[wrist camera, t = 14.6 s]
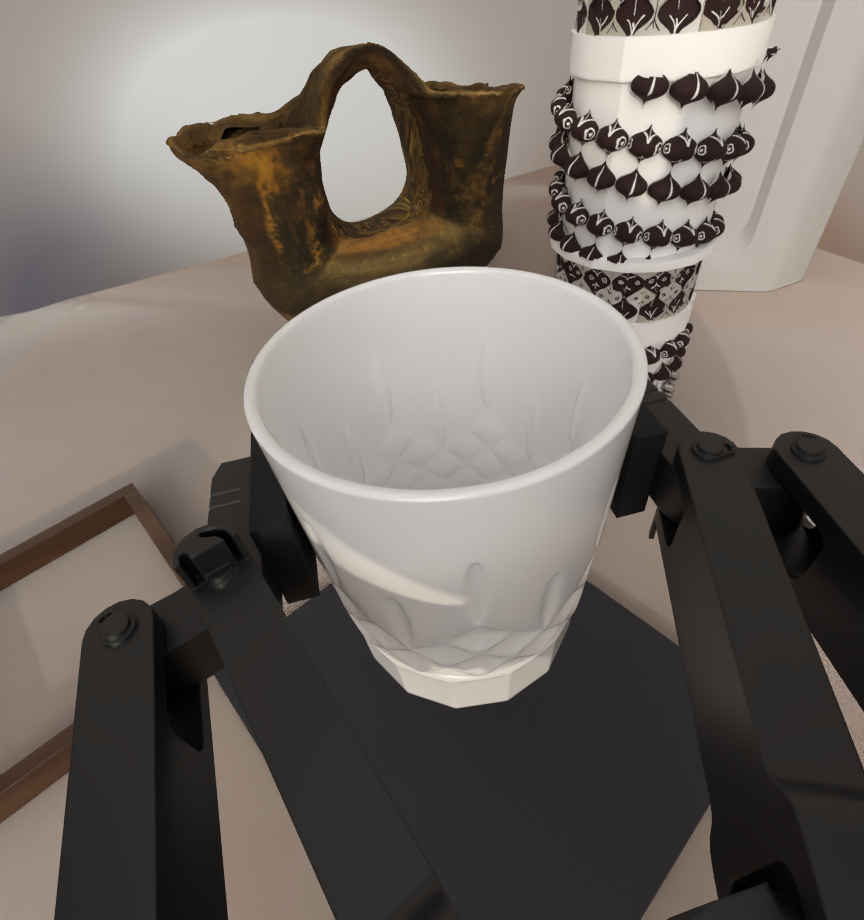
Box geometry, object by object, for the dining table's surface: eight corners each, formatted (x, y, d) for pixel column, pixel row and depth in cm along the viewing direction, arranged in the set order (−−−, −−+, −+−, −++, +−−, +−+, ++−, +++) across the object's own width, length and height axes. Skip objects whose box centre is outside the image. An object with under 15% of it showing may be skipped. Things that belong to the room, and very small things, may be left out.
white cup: (636, 671, 15) (751, 408, 8) (382, 777, 14) (262, 570, 7) (518, 490, 21) (527, 240, 14) (328, 554, 19) (231, 312, 12)
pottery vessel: (283, 413, 38) (162, 89, 24) (241, 351, 45) (127, 72, 31) (542, 303, 46) (561, 15, 33) (472, 265, 53) (464, 14, 39)
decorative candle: (693, 398, 35) (885, -171, 18) (633, 477, 31) (814, -188, 13) (574, 357, 40) (634, -125, 23) (506, 421, 35) (516, -126, 18)
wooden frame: (-108, 642, 27) (-134, 627, 26) (144, 499, 33) (131, 482, 32) (-79, 883, 19) (-114, 878, 18) (242, 640, 25) (231, 624, 24)
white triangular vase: (544, 247, 55) (571, -158, 35) (656, 215, 58) (736, -170, 39) (674, 325, 42) (829, -245, 22) (807, 278, 46) (1041, -251, 26)
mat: (215, 676, 24) (213, 673, 24) (456, 490, 31) (455, 487, 31) (504, 1143, 14) (504, 1146, 14) (764, 711, 21) (767, 709, 21)
